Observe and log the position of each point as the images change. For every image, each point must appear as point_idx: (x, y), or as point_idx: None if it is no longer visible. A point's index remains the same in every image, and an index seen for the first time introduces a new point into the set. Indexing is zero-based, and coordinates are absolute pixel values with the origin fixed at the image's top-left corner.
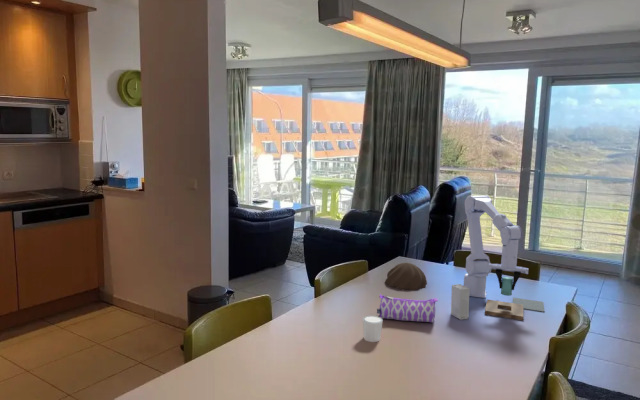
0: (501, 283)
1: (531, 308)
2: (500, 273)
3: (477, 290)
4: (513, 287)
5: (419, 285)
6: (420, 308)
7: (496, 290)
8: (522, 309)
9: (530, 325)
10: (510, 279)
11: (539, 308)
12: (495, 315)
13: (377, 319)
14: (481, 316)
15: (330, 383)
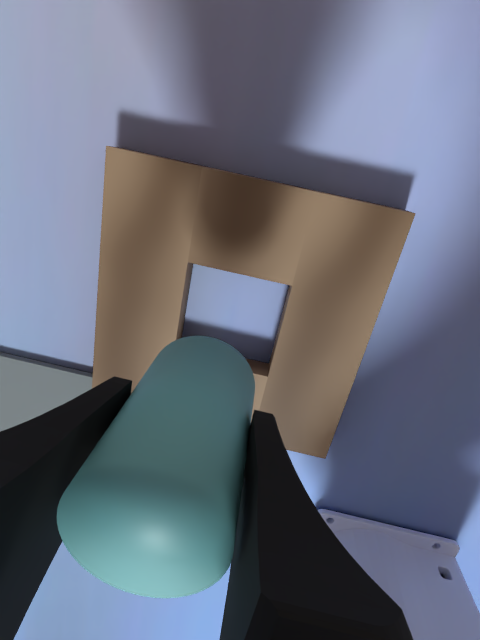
0: (253, 454)
1: (49, 383)
2: (300, 603)
3: (376, 564)
4: (100, 389)
5: None
6: None
7: (221, 618)
8: (102, 311)
9: (71, 39)
10: (97, 492)
11: (3, 392)
12: (322, 192)
13: None
14: (450, 147)
15: None
